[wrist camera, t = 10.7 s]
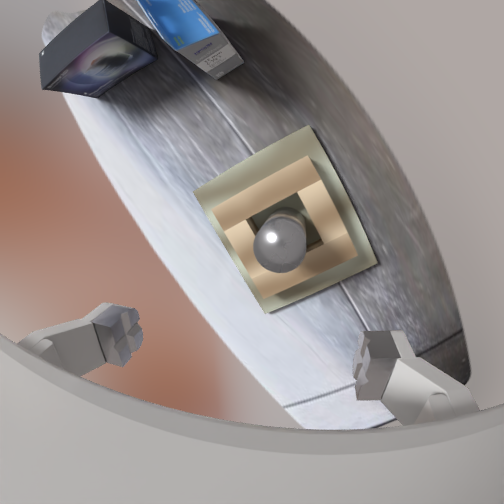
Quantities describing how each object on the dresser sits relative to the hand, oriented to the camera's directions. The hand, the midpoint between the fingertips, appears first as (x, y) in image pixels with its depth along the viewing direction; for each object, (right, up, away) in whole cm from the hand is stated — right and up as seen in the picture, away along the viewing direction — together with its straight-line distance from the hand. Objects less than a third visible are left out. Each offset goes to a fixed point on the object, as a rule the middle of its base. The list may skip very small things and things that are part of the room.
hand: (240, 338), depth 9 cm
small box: (-17, +27, +17) cm, 36 cm away
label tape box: (-4, +26, +15) cm, 30 cm away
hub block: (+4, +6, +20) cm, 21 cm away
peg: (+4, +6, +19) cm, 20 cm away
